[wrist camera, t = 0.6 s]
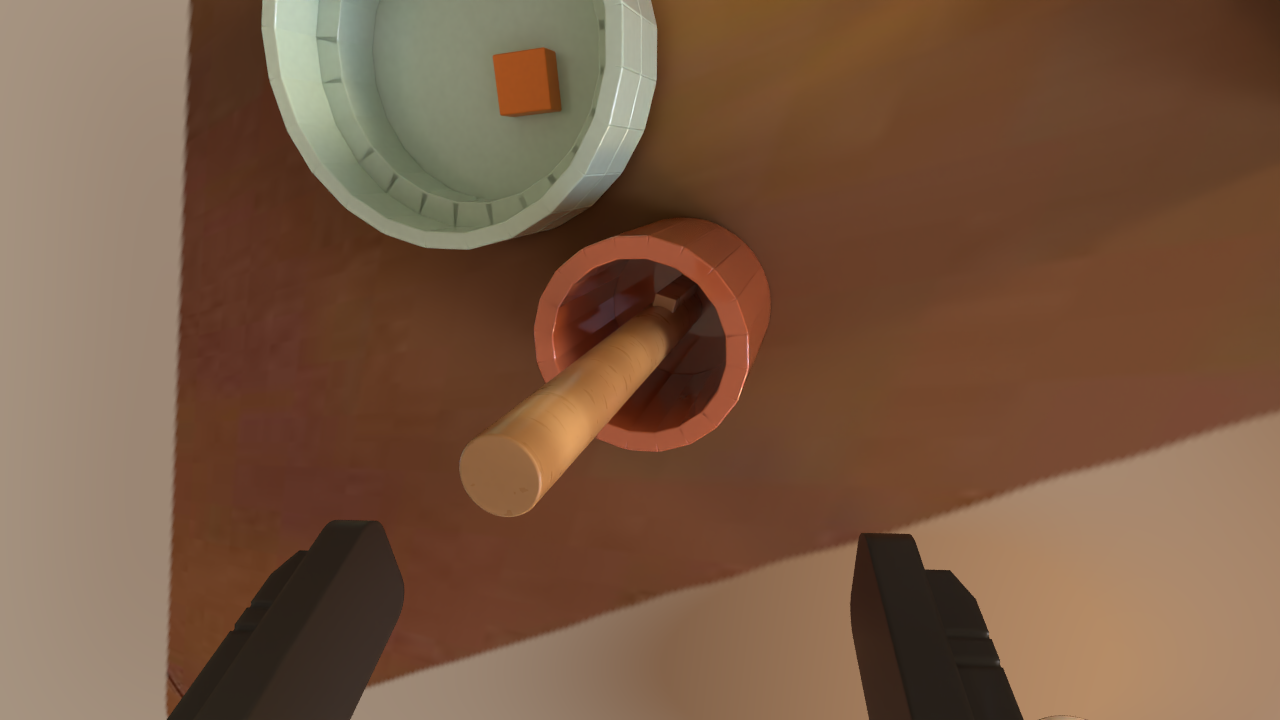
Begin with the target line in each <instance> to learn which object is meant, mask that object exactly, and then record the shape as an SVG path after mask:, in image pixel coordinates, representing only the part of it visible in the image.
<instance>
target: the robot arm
mask: <svg viewBox="0 0 1280 720" xmlns="http://www.w3.org/2000/svg"><path fill="white" fill-rule="evenodd" d="M403 601H404V583H403V579H402V576H401V573H400V570H399V568H398V565H397V562H396V560H395V557H394V554H393V552H392V549H391V546H390V544H389V541H388V538H387V536H386V533H385V530H384V528H383V526H382V525H381V523H379V522H378V521H359V520H333V521H331V522H329V523H328V524H327V525H326V526H325V527H324V529H323V530H322V531H321V533H320V534H319V536H318V537H317V539H316V540H315V542H314V543H313V545H312V546H311V548H310V549H309V551H298V552H297V553H296V554H295V555H293V556H292V557H291V558H290V559H289V560H287V561H286V562H285V563H284V564H283V565H281V566H280V567H279V568H278V569H277V570H275V571H274V572H273V573H272V574H271V575H270V576H269V578H268V579H267V580H266V582H265V583H264V585H263V586H262V587H261V589H260V590H259V592H258V593H257V594H256V596H255V597H254V599H253V600H252V601H251V607H250V608H246V610H245V611H244V613H243V614H242V615H241V617H240V618H239V620H238V621H237V622H236V624H235V629H234V631H230V632H229V633H228V635H227V636H226V638H225V639H224V640H223V642H222V643H221V645H220V646H219V647H218V649H217V650H216V652H215V653H214V654H213V656H212V657H211V659H210V660H209V661H208V663H207V664H206V666H205V667H204V668H203V670H202V671H201V673H200V674H199V675H198V677H197V678H196V680H195V681H194V682H193V684H192V685H191V687H190V688H189V689H188V691H187V692H186V694H185V695H184V696H183V698H182V699H181V701H180V702H179V703H178V705H177V706H176V708H175V709H174V710H173V712H172V713H171V715H170V716H169V717H168V719H167V720H350V719H351V716H352V715H353V712H354V710H355V708H356V706H357V704H358V702H359V700H360V698H361V696H362V693H363V692H364V689H365V687H366V685H367V683H368V681H369V679H370V677H371V675H372V673H373V671H374V669H375V666H376V664H377V662H378V660H379V658H380V656H381V654H382V652H383V650H384V648H385V646H386V643H387V641H388V639H389V637H390V635H391V633H392V631H393V629H394V627H395V625H396V622H397V620H398V618H399V616H400V613H401V610H402V606H403ZM850 606H851V610H850V611H851V626H852V633H853V639H854V645H855V650H856V655H857V660H858V665H859V669H860V675H861V680H862V685H863V690H864V695H865V700H866V705H867V710H868V715H869V720H1023V717H1022V715H1021V712H1020V710H1019V707H1018V705H1017V702H1016V700H1015V697H1014V695H1013V692H1012V690H1011V687H1010V684H1009V682H1008V679H1007V677H1006V674H1005V672H1004V669H1003V668H1002V667H1001V666H1000V659H999V657H998V654H997V652H996V649H995V647H994V644H993V642H992V639H989V631H988V629H987V627H986V624H985V621H984V619H983V616H982V614H981V611H980V609H979V606H978V604H977V601H976V599H975V598H974V597H973V596H972V595H971V593H970V592H969V591H968V590H967V589H966V588H965V587H964V586H963V584H962V583H961V582H960V581H959V580H958V579H957V578H956V577H955V576H954V574H953V573H952V572H951V571H950V570H925V569H924V567H923V564H922V560H921V557H920V554H919V551H918V548H917V545H916V543H915V540H914V538H913V537H912V535H910V534H886V533H861V534H860V536H859V541H858V548H857V555H856V562H855V569H854V577H853V584H852V591H851V603H850Z"/></svg>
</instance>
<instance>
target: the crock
mask: <svg viewBox="0 0 1280 720" xmlns="http://www.w3.org/2000/svg"><path fill="white" fill-rule="evenodd" d="M679 276H684V277H687V278H689V279H691V280H692V281H693V282H695V283H696V284H698V285H697V288H696V292H695V293H696V294H697V296H698V297H699V299H700V301H701V305H702V311H701V315H700V318H699V319H698V321H697V322H696V323H695V324H694V325H693V326H692V328H691V329H690V330H689V331H688V332H687V333H686V334H685V336H684V337H683V338H682V339H681V340H680V341H679V342H678V344H677V345H676V346H675V347H674V348H673V349H672V350H671V351H670V353H669V354H668V355H667V356H666V357H665V358H664V359H663V361H662V362H661V363H660V364H659V365H658V366H657V367H656V368H655V370H654V371H653V372H652V373H651V374H650V375H649V376H648V378H647V379H646V380H645V381H644V382H643V383H642V384H641V386H640V387H639V388H638V389H637V390H636V391H635V392H634V393H633V395H632V396H631V397H630V398H629V399H628V400H627V401H626V403H625V404H624V405H623V406H622V407H621V408H620V409H619V410H618V412H617V413H616V414H615V415H614V416H613V417H612V418H611V420H610V421H609V422H608V423H607V424H606V425H605V426H604V428H603V429H602V430H601V431H600V432H599V433H598V434H597V435H596V438H597V439H599V440H602V441H604V442H607V443H610V444H612V445H615V446H618V447H620V448H623V449H626V448H627V450H638V451H652V452H658V451H660V452H661V451H665V450H669V449H673V448H677V447H681V446H685V445H689V444H692V443H694V442H695V441H697V440H698V439H700V438H701V437H703V436H705V435H706V434H708V433H709V432H711V431H713V430H714V429H716V428H717V426H719V425H720V423H721V422H722V421H723V420H724V418H725V417H726V416H727V414H728V413H729V412H730V411H731V409H732V408H733V407H734V406H735V404H736V403H737V401H738V400H739V397H740V395H741V393H742V390H743V388H744V385H745V383H746V381H747V378H748V376H749V374H750V371H751V369H752V366H753V364H754V362H755V359H756V357H757V354H758V352H759V350H760V347H761V344H762V342H763V339H764V336H765V333H766V331H767V327H768V324H769V318H770V310H771V304H770V292H769V286H768V282H767V279H766V275H765V273H764V271H763V269H762V266H761V264H760V263H759V261H758V259H757V258H756V256H755V254H754V253H753V252H752V251H751V249H750V248H749V247H748V246H747V245H746V244H745V243H744V242H743V241H742V240H741V239H740V238H739V237H737V236H736V235H735V234H733V233H732V232H731V231H729V230H727V229H725V228H724V227H722V226H720V225H717V224H715V223H712V222H709V221H706V220H702V219H697V218H686V217H685V218H671V219H664V220H660V221H657V222H654V223H651V224H648V225H645V226H642V227H639V228H636V229H633V230H631V231H628V232H625V233H622V234H619V235H616V236H613V237H610V238H607V239H605V240H602V241H599V242H597V243H594V244H591V245H589V246H586V247H584V248H583V249H580V250H579V251H578V252H577V253H576V254H574V255H573V256H572V257H571V258H570V259H569V260H567V261H566V262H565V263H564V264H563V265H561V266H560V267H559V268H558V270H556V271H555V273H554V275H553V276H552V278H551V280H550V281H549V283H548V285H547V287H546V288H545V290H544V292H543V293H542V295H541V297H540V300H539V305H538V310H537V315H536V319H535V324H534V339H535V349H536V360H537V361H538V362H537V363H538V366H539V369H540V371H541V374H542V376H543V379H544V381H545V384H546V383H547V382H549V381H550V380H551V379H553V378H554V377H555V376H556V375H558V374H559V373H560V372H562V371H563V370H564V369H566V368H567V367H568V366H570V365H571V364H572V363H574V362H575V361H576V360H577V359H579V358H580V357H581V356H583V355H584V354H585V353H587V352H588V351H589V350H591V349H592V348H593V347H594V346H596V345H597V344H598V343H600V342H601V341H602V340H604V339H605V338H606V337H608V336H609V335H610V334H612V333H613V332H614V331H615V330H617V329H618V328H619V327H621V326H622V325H623V324H625V323H626V322H627V321H629V320H630V319H631V318H633V317H634V316H635V315H636V314H638V313H639V312H640V311H642V310H643V309H644V308H646V307H647V306H648V305H650V304H651V303H652V302H653V301H654V297H655V294H656V293H657V292H659V291H660V290H661V289H663V288H664V287H665V286H667V285H668V284H670V283H671V282H672V281H674V280H675V279H676V278H678V277H679Z"/></svg>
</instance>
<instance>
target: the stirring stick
mask: <svg viewBox="0 0 1280 720" xmlns="http://www.w3.org/2000/svg"><path fill="white" fill-rule="evenodd" d="M697 285H698V284H696V283H695V282H693V281H692V280H691V279H689V278H687V277H684V276H679V277H678V278H676V279H675V280H674V281H672V282H671V283H670V284H668V285H667V286H665V287H664V288H663V289H661V290H660V291H659V292H657V293H656V294H655V297H654V301H653V302H652V303H651V304H650V305H648V306H647V307H646V308H644V309H643V310H642V311H640V312H639V313H638V314H636V315H635V316H634V317H633V318H631V319H630V320H629V321H627V322H626V323H625V324H623V325H622V326H621V327H619V328H618V329H617V330H615V331H614V332H613V333H612V334H610V335H609V336H608V337H606V338H605V339H604V340H602V341H601V342H600V343H598V344H597V345H596V346H594V347H593V348H592V349H591V350H589V351H588V352H587V353H585V354H584V355H583V356H581V357H580V358H579V359H577V360H576V361H575V362H574V363H572V364H571V365H570V366H568V367H567V368H566V369H564V370H563V371H562V372H560V373H559V374H558V375H556V376H555V377H554V378H553V379H551V380H550V381H549V382H547V383H546V384H545V385H543V386H542V387H541V388H539V389H538V390H537V391H535V392H534V393H533V394H532V395H530V396H529V397H528V398H526V399H525V400H524V401H522V402H521V403H520V404H518V405H517V406H516V407H514V408H513V409H512V410H511V411H509V412H508V413H507V414H505V415H504V416H503V417H501V418H500V419H499V420H497V421H496V422H495V423H494V424H492V425H491V426H490V427H488V428H487V429H486V430H484V431H483V432H482V433H480V434H479V435H478V436H476V437H475V438H474V439H473V440H471V441H470V442H469V443H468V444H467V445H466V447H465V448H464V450H463V452H462V455H461V458H460V464H459V472H460V478H461V481H462V484H463V486H464V488H465V490H466V492H467V494H468V495H469V496H470V498H471V499H472V500H473V501H474V502H475V503H476V504H477V505H478V506H479V507H481V508H482V509H484V510H485V511H487V512H489V513H491V514H494V515H497V516H502V517H514V516H519V515H522V514H524V513H526V512H528V511H529V510H531V509H532V508H533V507H534V506H535V505H536V504H537V502H538V501H539V500H540V499H541V498H542V497H543V496H544V494H545V493H546V492H547V491H548V490H549V489H550V488H551V487H552V485H553V484H554V483H555V482H556V481H557V480H558V479H559V477H560V476H561V475H562V474H563V473H564V472H565V471H566V470H567V468H568V467H569V466H570V465H571V464H572V463H573V462H574V460H575V459H576V458H577V457H578V456H579V455H580V454H581V452H582V451H583V450H584V449H585V448H586V447H587V446H588V445H589V443H590V442H591V441H592V440H593V439H594V438H595V437H596V435H597V434H598V433H599V432H600V431H601V430H602V429H603V428H604V426H605V425H606V424H607V423H608V422H609V421H610V420H611V418H612V417H613V416H614V415H615V414H616V413H617V412H618V410H619V409H620V408H621V407H622V406H623V405H624V404H625V403H626V401H627V400H628V399H629V398H630V397H631V396H632V395H633V393H634V392H635V391H636V390H637V389H638V388H639V387H640V386H641V384H642V383H643V382H644V381H645V380H646V379H647V378H648V376H649V375H650V374H651V373H652V372H653V371H654V370H655V368H656V367H657V366H658V365H659V364H660V363H661V362H662V361H663V359H664V358H665V357H666V356H667V355H668V354H669V353H670V351H671V350H672V349H673V348H674V347H675V346H676V345H677V344H678V342H679V341H680V340H681V339H682V338H683V337H684V336H685V334H686V333H687V332H688V331H689V330H690V329H691V328H692V326H693V325H694V324H695V323H696V322H697V321H698V319H699V318H700V315H701V311H702V305H701V301H700V299H699V297H698V296H697V294H696V293H695V292H696V288H697Z"/></svg>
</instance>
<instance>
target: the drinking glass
mask: <svg viewBox="0 0 1280 720" xmlns="http://www.w3.org/2000/svg"><path fill="white" fill-rule="evenodd" d="M1039 720H1086V719H1082V718H1078V717H1073V716H1051V717H1046V718H1043V719H1039Z"/></svg>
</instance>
